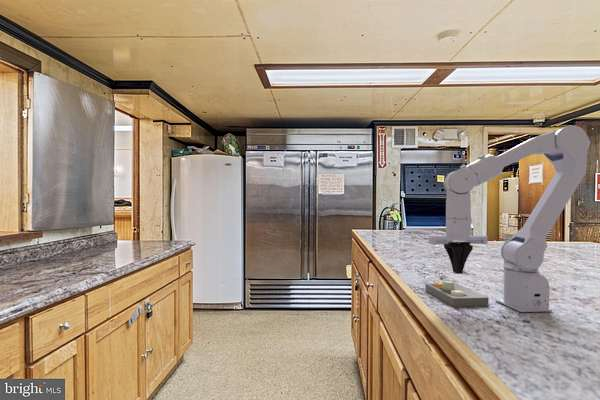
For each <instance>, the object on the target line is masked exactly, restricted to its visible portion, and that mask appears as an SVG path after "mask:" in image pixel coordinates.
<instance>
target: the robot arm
mask: <svg viewBox="0 0 600 400" xmlns="http://www.w3.org/2000/svg"><path fill="white" fill-rule="evenodd" d="M591 144H592V142H591V140H590V138H589V136H588V134H587V132H586V131H585V130H584V129H583V128H582V127H580V126H578V125H575V124H573V125H566V126H564V127H562V128H560V129H556V130H553V131H550V132H547V133H542V134H541V135H538V136H535V137H532V138H529V139H527V140H526V141H524V142H521V143H520V144H517V145H516V146H514V147H512V148H510V149H508V150H507V151H504V152H503V153H501V154H498V155H497V156H496V155H493V154H487V155H485V154H481V155H480V156H478V157H477V160H474V161H473V162H471V163H468V164H467V165H465V164H461V166H459V167H460V168H458V169H456V170H454V171H451V172H450V173H448V174H447V175H446V176H445V179H444V181H443V187H444V189H445V190H446V199H445V235H444V234H443V235H429V236H428V245H429V244H430V245H433V246H434V245H443V247H444V250H445V252H446V253H447V255H448V257H449V260H450V264H451V267H452V273H454V274H459V275H462V274H463V273H464V269H465V266H466V262H467V260H468V257H469V256H470V254H471V252H472V251H473V247H474V245H476V244H477V245H480V244H482V245H488V239H489V238H488V236H486V235H471V232H472V231H471V228H472V226H471V225H472V224H471V223H472V221H471V220H472V219H471V218H472V209H471V208H472V200H471V194H472V193H471V191H472V190H473V189H474V187H478V186H480V185H482V184H484V183H486V182H488V181H491V180H492V179H495V178H497V177H499V176H502V175H501V174H502V172H503V170H504V168H506V167H508V166H509V165H512V164H514V163H516V162H518V161H521V160H523V159H525V158H527V157H529V156H530V157H531V156H532V155H543V156H544V157H545V158H546V159H547V160H548V161H549V162H550V163H551V164H552V165H553V168H554V170H555V174H554V175H553V177H552V179H551V181H550V182H549V183H548V184H547V187H546V188H545V190H544V192H543V193H542V195H541V197H540V198H539V200H538V202H537V203H536V204H535V207H534V208H533V209H532V211H531V213H530V215H529V216H528V218H527V219H526V221H525V222H524V224H523V226H522V228H520V229H519V230H517V231H515V232H516V233H515V234H514V235H513V237H512V238H511V239H510V240H508V241H507V242H505V241H504V242H503V244H502V246H501V247H500V255H501V258H502V259H503V261H504V260H505V261H506V263H505V265H504V264H503V298H496V299H495V302H497V303H499V304H502V305H504V306H505V307H506V306H507V307H509V308H511V309H513V310H515V311H517V312H520V313H531V312H532V313H534V312H535V313H538V312H539V313H540V312H553V308H550V283H549V280H548V278H547V277H546V276H544V275H543V274H541V273H540V272H539V268H540V267H541V265H543V262H544V260H545V259H544V256H545V251H546V249H547V247H548V243H547V236H548V235H549V233H550V231H551V230H552V229H553V227H554V225H555V224H556V222H557V221H558V219H559V218H560V216H561V214H562V212H563V211H564V209H565V207H566V205H567V204H568V203H569V201H570V199H571V198H572V196H573V194H574V193H575V191H576V190H577V188H578V187H579V185H580V183H581V181H582V180H583V178H584V177H585V175H586V173H587V166H588V163H587V162H588V149H589V148H590V146H591Z"/></svg>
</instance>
